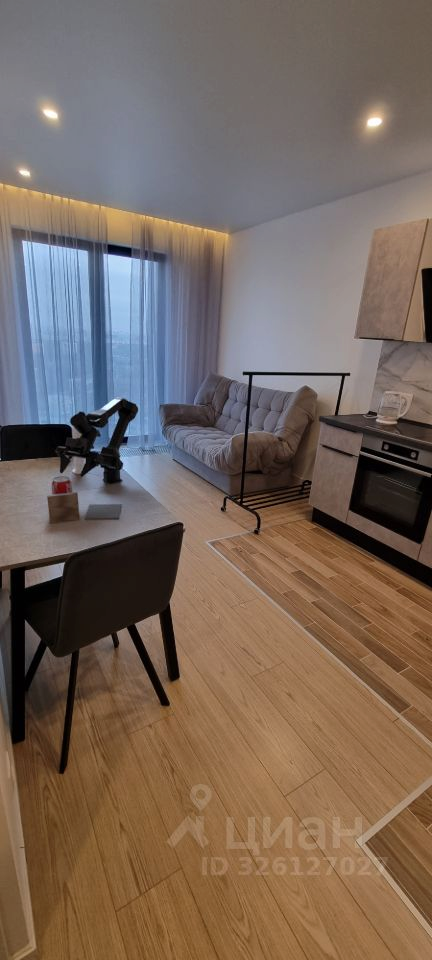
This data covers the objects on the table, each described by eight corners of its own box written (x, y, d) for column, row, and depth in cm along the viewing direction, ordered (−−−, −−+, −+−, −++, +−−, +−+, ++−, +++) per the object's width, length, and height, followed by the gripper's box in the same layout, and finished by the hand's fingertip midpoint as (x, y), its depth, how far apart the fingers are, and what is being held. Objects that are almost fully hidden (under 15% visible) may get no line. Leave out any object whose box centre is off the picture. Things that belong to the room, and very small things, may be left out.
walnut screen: (79, 514, 144) (77, 492, 141) (79, 519, 140) (78, 496, 137) (49, 518, 140) (47, 495, 137) (49, 523, 136) (47, 499, 133)
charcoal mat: (89, 505, 151) (89, 504, 151) (121, 505, 153) (121, 504, 153) (84, 519, 140) (84, 518, 140) (118, 519, 142) (118, 517, 142)
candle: (91, 470, 189) (87, 419, 180) (80, 475, 183) (76, 422, 174) (79, 468, 191) (76, 417, 183) (69, 472, 185) (64, 420, 177)
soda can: (67, 513, 144) (64, 483, 140) (49, 511, 146) (46, 480, 141) (77, 506, 151) (75, 476, 147) (60, 503, 152) (57, 474, 148)
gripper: (56, 425, 151) (38, 460, 145) (97, 431, 145) (81, 468, 139) (71, 441, 160) (54, 474, 154) (110, 447, 155) (95, 482, 149)
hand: (70, 474), depth 149 cm, fingers open, 9 cm apart
